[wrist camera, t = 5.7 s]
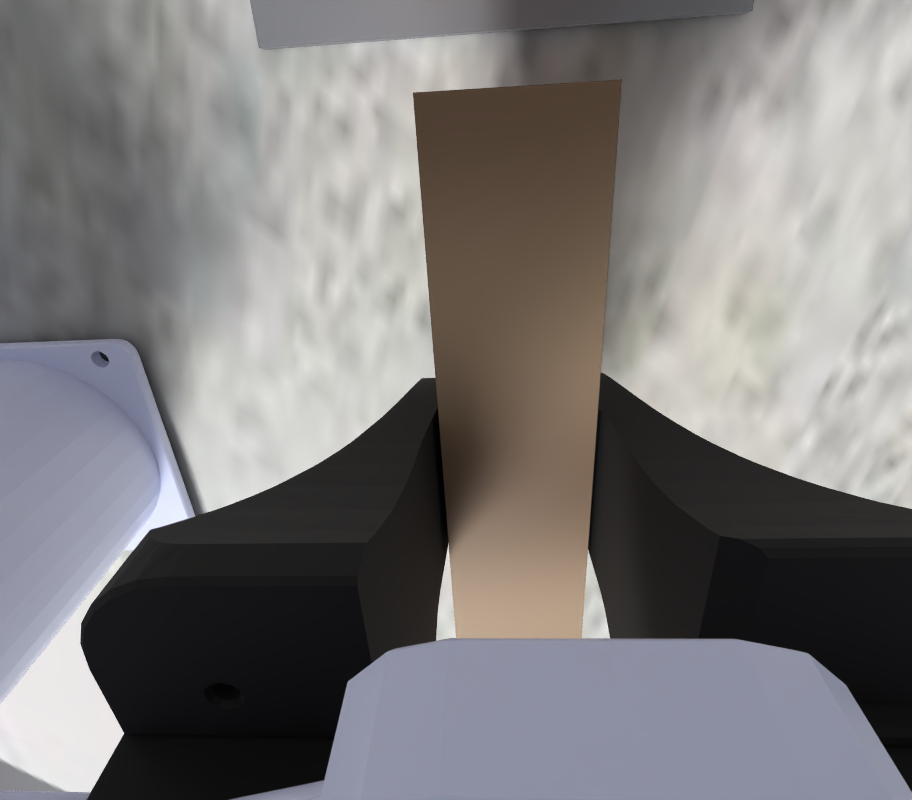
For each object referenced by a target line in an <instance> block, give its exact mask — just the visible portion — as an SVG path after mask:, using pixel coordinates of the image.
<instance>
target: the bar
mask: <svg viewBox="0 0 912 800" xmlns="http://www.w3.org/2000/svg"><path fill="white" fill-rule="evenodd" d="M621 83H622V80H608V81H592V82H576V83H561V84H545V85H529V86H513V87H497V88H481V89H465V90H449V91H433V92H417V93H413V98H414V111H415V124H416V136H417V149H418V162H419V174H420V187H421V199H422V212H423V225H424V237H425V250H426V263H427V275H428V288H429V301H430V313H431V326H432V339H433V351H434V364H435V376H436V389H437V402H438V414H439V427H440V440H441V452H442V465H443V478H444V490H445V503H446V515H447V528H448V541H449V553H450V566H451V579H452V591H453V604H454V617H455V629H456V638H575V639H581V637H582V624H583V610H584V596H585V582H586V568H587V554H588V540H589V527H590V513H591V499H592V485H593V471H594V457H595V443H596V430H597V416H598V402H599V388H600V374H601V360H602V346H603V332H604V319H605V305H606V291H607V277H608V263H609V249H610V235H611V222H612V208H613V194H614V180H615V166H616V152H617V138H618V125H619V111H620V97H621Z"/></svg>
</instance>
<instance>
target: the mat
mask: <svg viewBox="0 0 912 800" xmlns="http://www.w3.org/2000/svg"><path fill="white" fill-rule="evenodd" d="M753 2H754V0H250V3H251V8H252V13H253V18H254V24H255V29H256V34H257V40H258V45H259V48H261V49H278V48H291V47H305V46H318V45H331V44H345V43H358V42H371V41H385V40H398V39H411V38H425V37H438V36H452V35H465V34H478V33H492V32H505V31H518V30H532V29H545V28H558V27H572V26H585V25H598V24H612V23H625V22H638V21H652V20H665V19H678V18H692V17H705V16H719V15H732V14H745V13H748V12H751V11H752V9H753Z"/></svg>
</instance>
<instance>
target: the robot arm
mask: <svg viewBox="0 0 912 800" xmlns="http://www.w3.org/2000/svg"><path fill="white" fill-rule="evenodd" d="M99 352H102V353H104V354H105V355H106V356H107V357H108V359H109V362H107V361H105V360H104V359H102V358H101V356H100V355H99ZM448 542H449V541H448V528H447V515H446V503H445V490H444V478H443V465H442V452H441V440H440V427H439V414H438V402H437V389H436V378H422V379H421V380H420V381H419V382H417V383H416V384H415V385H414V386H413V387H412V388H411V389H410V390H409V391H408V392H407V393H406V394H405V396H404V397H403V398H402V399H401V400H400V401H399V402H398V403H397V404H396V405H394V406H393V407H392V408H391V409H390V410H389V411H388V412H387V413H386V414H385V415H384V416H383V417H382V418H380V419H379V420H378V421H377V422H376V423H374V424H373V425H372V426H371V427H370V428H368V429H367V430H366V431H365V432H364V433H362V434H361V435H360V436H359V437H358V438H356V439H355V440H354V441H352V442H351V443H350V444H348V445H347V446H345V447H344V448H342V449H341V450H340V451H338V452H336V453H335V454H333V455H332V456H330V457H329V458H327V459H325V460H324V461H322V462H321V463H319V464H317V465H315V466H314V467H312V468H310V469H308V470H306V471H304V472H302V473H300V474H298V475H296V476H294V477H292V478H291V479H289V480H287V481H285V482H283V483H281V484H279V485H277V486H275V487H273V488H270V489H268V490H266V491H263V492H261V493H259V494H256V495H254V496H252V497H249V498H246V499H244V500H241V501H239V502H236V503H234V504H231V505H228V506H226V507H223V508H220V509H217V510H214V511H211V512H208V513H205V514H201V515H198V516H195V514H194V511H193V508H192V505H191V502H190V499H189V497H188V494H187V491H186V488H185V485H184V482H183V479H182V477H181V474H180V471H179V468H178V465H177V462H176V459H175V457H174V454H173V451H172V448H171V445H170V442H169V439H168V436H167V434H166V431H165V428H164V425H163V422H162V419H161V416H160V414H159V411H158V408H157V405H156V402H155V399H154V396H153V394H152V391H151V388H150V385H149V382H148V379H147V376H146V373H145V371H144V368H143V365H142V362H141V359H140V356H139V353H138V352H137V350H136V348H135V347H134V346H133V345H132V344H131V343H129V342H127V341H125V340H122V339H98V340H72V341H47V342H21V343H0V704H1V703H2V702H3V700H4V699H5V698H6V697H7V695H8V694H9V693H10V692H11V690H12V689H13V688H14V687H15V685H16V684H17V683H18V682H19V680H20V679H21V678H22V677H23V675H24V674H25V673H26V672H27V670H28V669H29V668H30V667H31V665H32V664H33V663H34V662H35V660H36V659H37V658H38V657H39V655H40V654H41V653H42V652H43V650H44V649H45V648H46V647H47V645H48V644H49V643H50V642H51V640H52V639H53V638H54V637H55V635H56V634H57V633H58V632H59V630H60V629H61V628H62V627H63V626H64V624H65V623H66V622H67V621H68V619H69V618H70V617H71V616H72V614H73V613H74V612H75V611H76V609H77V608H78V607H79V606H80V604H81V603H82V602H83V601H84V599H85V598H86V597H87V596H88V594H89V593H90V592H91V591H92V589H93V588H94V587H95V586H96V584H97V583H98V582H99V581H100V579H101V578H102V577H103V576H104V574H105V573H106V572H107V571H108V569H109V568H110V567H111V566H112V564H113V563H114V562H115V561H116V559H117V558H118V557H119V556H120V554H121V553H122V552H123V551H124V550H133V552H132V553H131V554H130V555H129V557H128V558H127V559H126V561H125V562H124V563H123V564H122V566H121V567H120V568H119V570H118V571H117V572H116V573H115V575H114V576H113V577H112V578H111V580H110V581H109V582H108V584H107V585H106V586H105V587H104V589H103V590H102V591H101V593H100V594H99V595H98V596H97V598H96V599H95V600H94V602H93V603H92V604H91V606H90V608H89V610H88V611H87V613H86V615H85V617H84V619H83V621H82V623H81V646H82V649H83V652H84V655H85V658H86V661H87V663H88V666H89V669H90V671H91V673H92V675H93V676H94V678H95V680H96V682H97V684H98V686H99V687H100V689H101V691H102V693H103V695H104V697H105V699H106V700H107V702H108V704H109V706H110V708H111V710H112V711H113V713H114V715H115V717H116V719H117V721H118V722H119V724H120V726H121V728H122V730H123V732H124V735H123V737H122V739H121V740H120V742H119V744H118V746H117V747H116V749H115V751H114V753H113V754H112V756H111V758H110V760H109V761H108V763H107V765H106V767H105V768H104V770H103V772H102V774H101V775H100V777H99V779H98V781H97V782H96V784H95V786H94V788H93V789H92V791H91V793H86V792H37V791H0V800H912V509H909V508H904V507H899V506H895V505H890V504H885V503H881V502H877V501H873V500H869V499H865V498H861V497H858V496H854V495H851V494H847V493H843V492H840V491H836V490H833V489H829V488H826V487H822V486H819V485H816V484H813V483H810V482H807V481H804V480H801V479H798V478H795V477H792V476H789V475H786V474H784V473H781V472H778V471H776V470H773V469H770V468H768V467H765V466H762V465H760V464H757V463H755V462H752V461H750V460H747V459H745V458H743V457H740V456H738V455H736V454H734V453H732V452H730V451H728V450H726V449H723V448H721V447H719V446H717V445H715V444H713V443H711V442H709V441H707V440H705V439H703V438H701V437H699V436H698V435H696V434H694V433H692V432H691V431H689V430H687V429H685V428H684V427H682V426H680V425H679V424H677V423H675V422H674V421H672V420H670V419H669V418H667V417H666V416H664V415H662V414H661V413H659V412H658V411H656V410H655V409H653V408H652V407H650V406H649V405H648V404H646V403H645V402H643V401H642V400H640V399H639V398H638V397H636V396H635V395H633V394H632V393H631V392H629V391H628V390H627V389H625V388H624V387H622V386H621V385H620V384H618V383H617V382H615V381H614V380H613V379H611V378H610V377H608V376H607V375H605V374H603V373H601V374H600V388H599V402H598V416H597V430H596V443H595V457H594V471H593V485H592V499H591V513H590V527H589V540H588V550H589V554H590V557H591V560H592V564H593V567H594V571H595V574H596V577H597V581H598V584H599V587H600V591H601V595H602V599H603V603H604V607H605V612H606V617H607V623H608V628H609V634H610V639H575V638H449V639H444V640H439V641H436V629H437V613H438V604H439V596H440V588H441V583H442V577H443V571H444V565H445V559H446V554H447V548H448Z"/></svg>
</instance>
